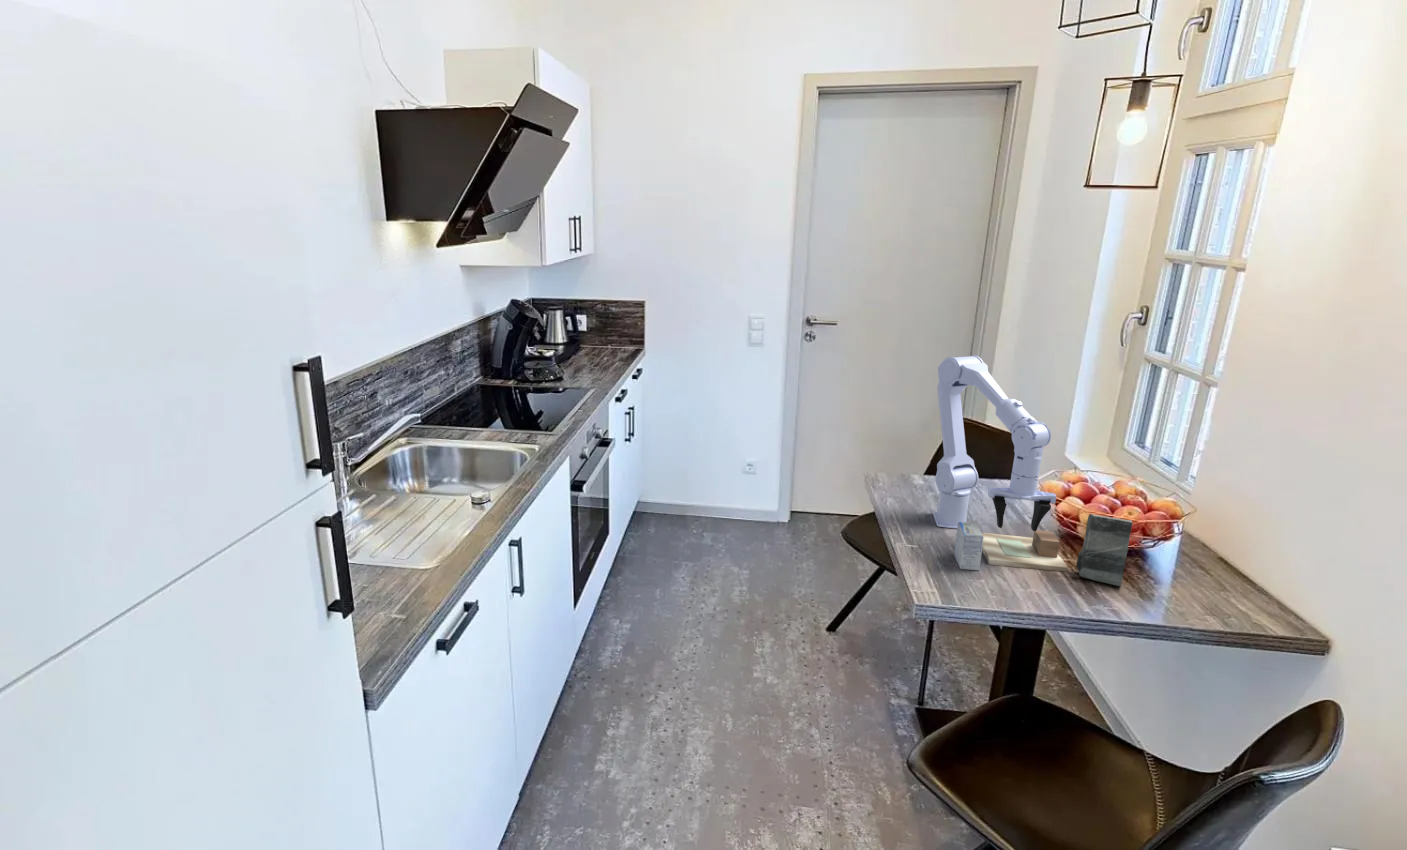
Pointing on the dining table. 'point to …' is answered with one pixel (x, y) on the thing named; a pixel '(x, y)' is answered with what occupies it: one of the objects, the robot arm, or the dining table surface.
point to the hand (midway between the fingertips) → (1016, 527)
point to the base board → (1017, 553)
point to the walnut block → (1045, 543)
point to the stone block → (1104, 549)
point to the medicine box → (968, 546)
